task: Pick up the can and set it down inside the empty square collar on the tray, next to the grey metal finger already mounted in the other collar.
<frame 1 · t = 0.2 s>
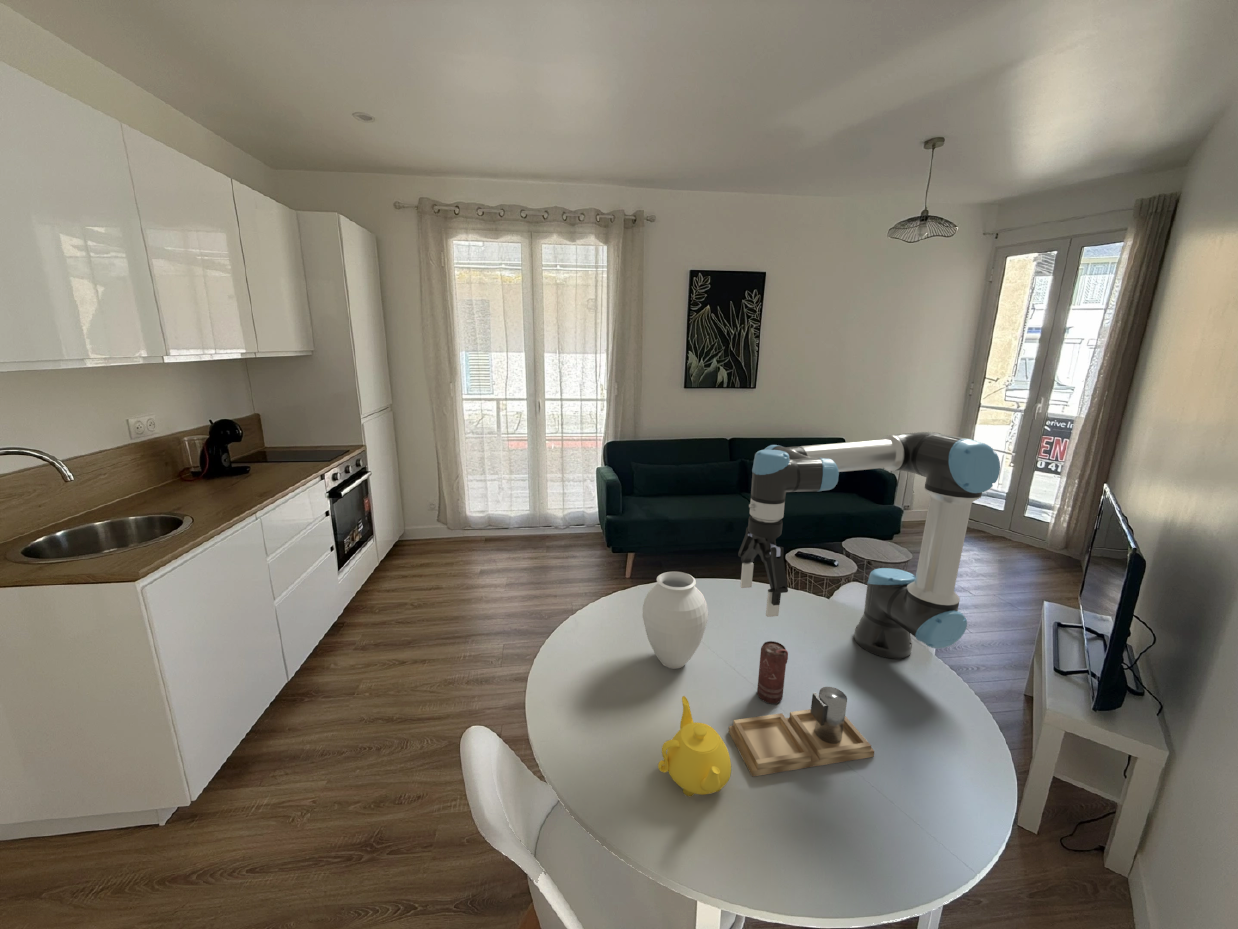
hand: (758, 600, 115), 26 cm above the table, fingers open, 13 cm apart
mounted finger: (827, 739, 107), resting on tray
vase: (673, 661, 134), on the table
tray: (798, 743, 106), on the table
can: (770, 697, 120), on the table
teapot: (693, 778, 97), on the table
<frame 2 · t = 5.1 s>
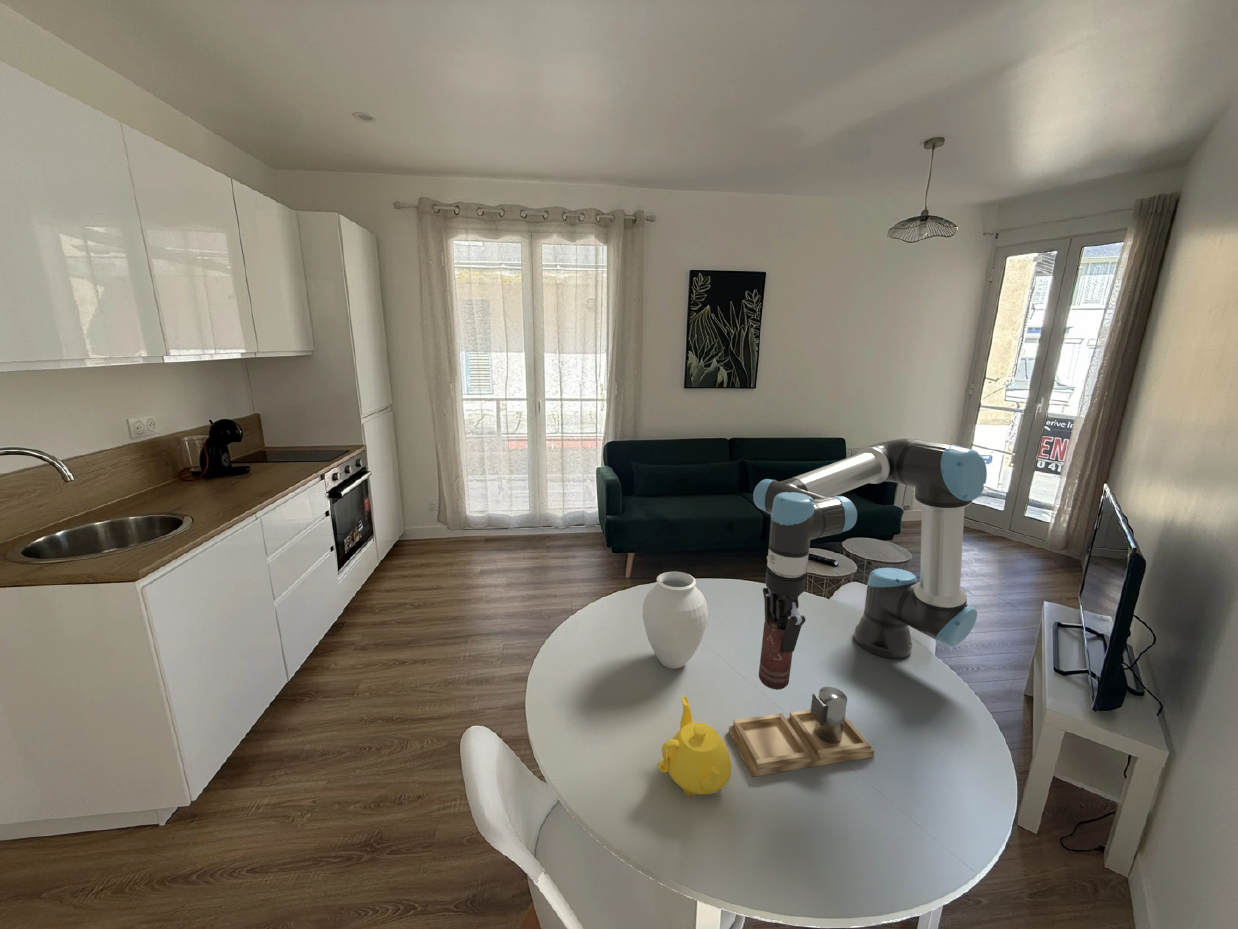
hand: (775, 672, 101), 19 cm above the table, fingers closed
can: (773, 681, 101), point 16 cm above the table, touching hand
everything else where it was.
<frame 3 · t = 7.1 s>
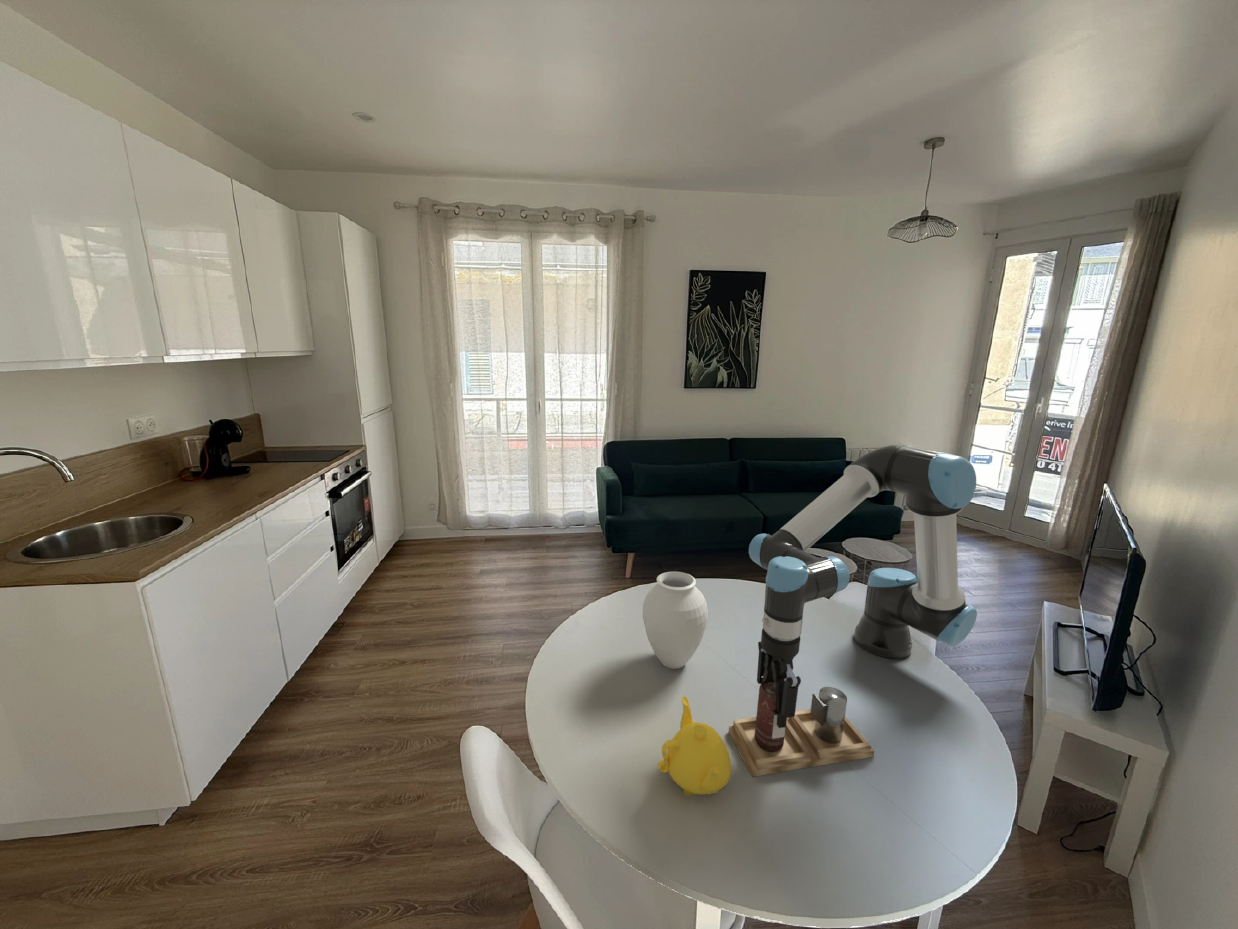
hand: (771, 727, 103), 5 cm above the table, fingers open, 4 cm apart
can: (769, 742, 104), point 1 cm above the table, touching tray
everything else where it was.
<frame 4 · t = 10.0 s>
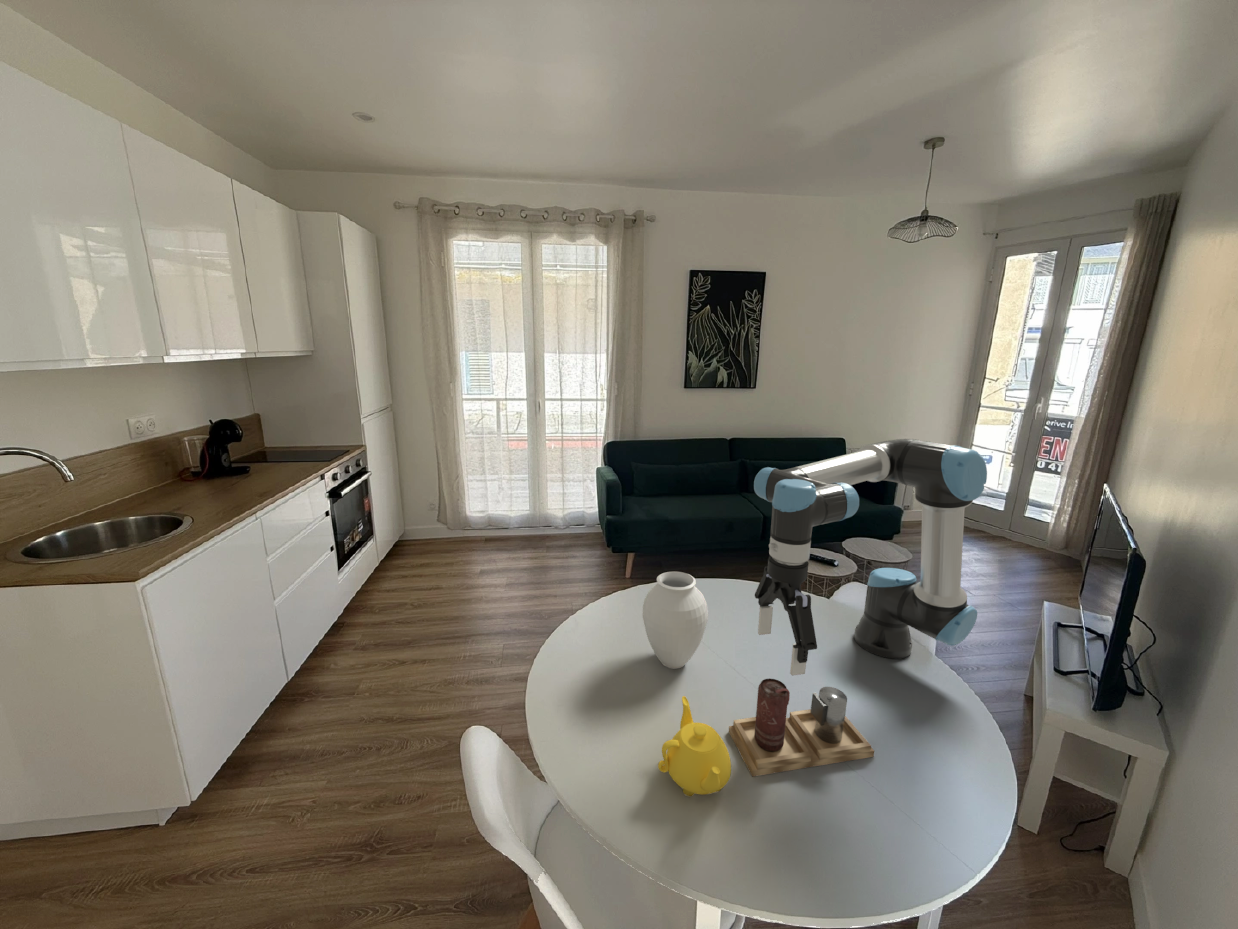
hand: (779, 652, 99), 24 cm above the table, fingers open, 13 cm apart
nothing on the table moved.
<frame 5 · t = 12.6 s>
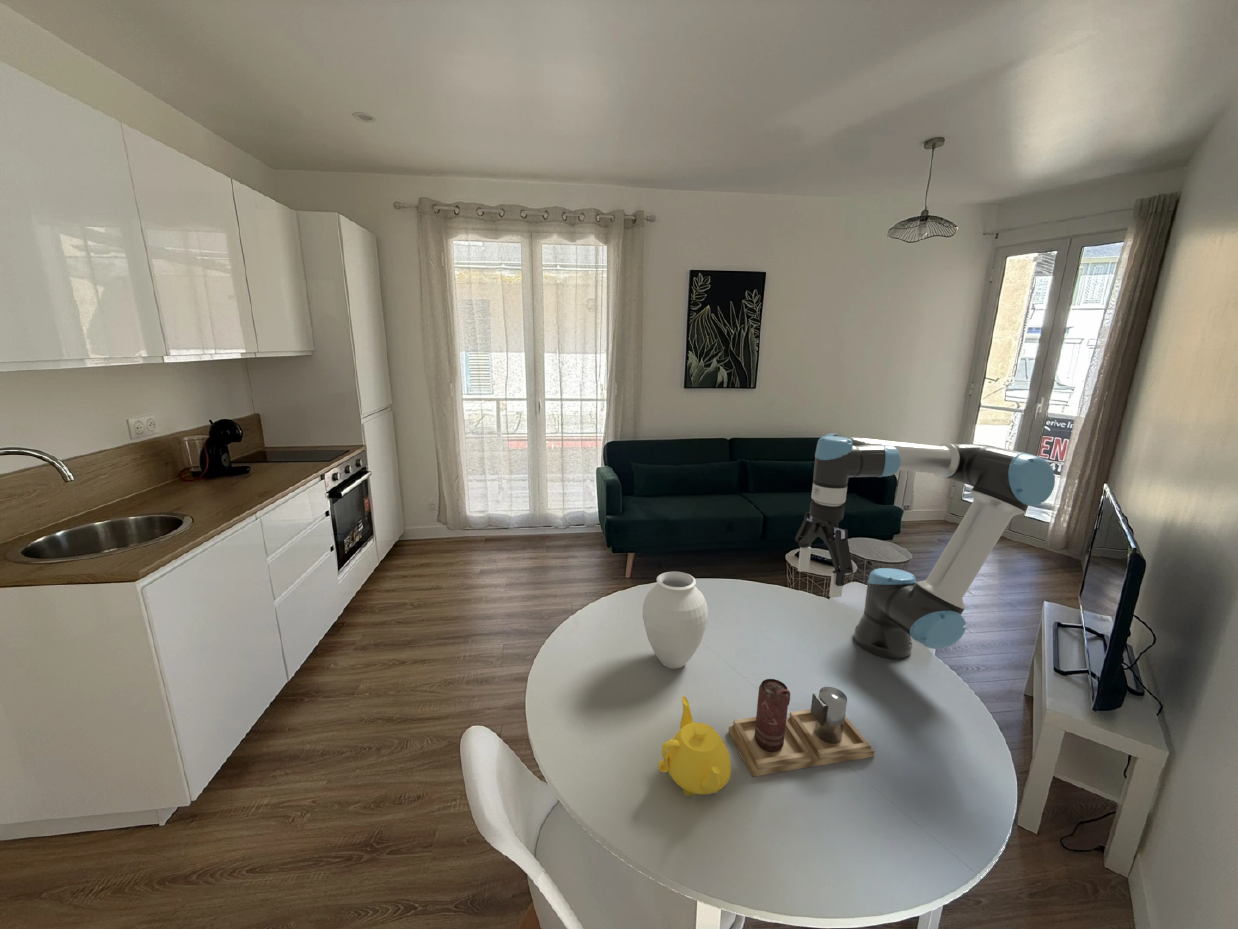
hand: (818, 583, 119), 29 cm above the table, fingers open, 13 cm apart
nothing on the table moved.
at the end: can inside the target area on the tray (0.2 cm from its centre), point 1.3 cm above the tray's base; can tilted 0°; can touching tray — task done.
